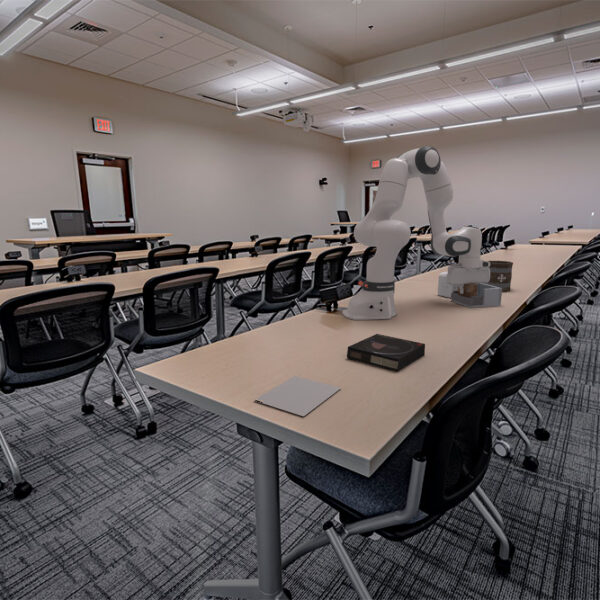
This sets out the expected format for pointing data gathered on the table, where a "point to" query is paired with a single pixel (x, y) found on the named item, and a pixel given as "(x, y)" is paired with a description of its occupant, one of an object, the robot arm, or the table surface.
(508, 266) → the mug
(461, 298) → the cabinet
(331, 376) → the table surface
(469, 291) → the brown rectangular block
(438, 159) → the robot arm
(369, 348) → the portable cd player
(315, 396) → the paper stack
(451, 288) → the photo printer
